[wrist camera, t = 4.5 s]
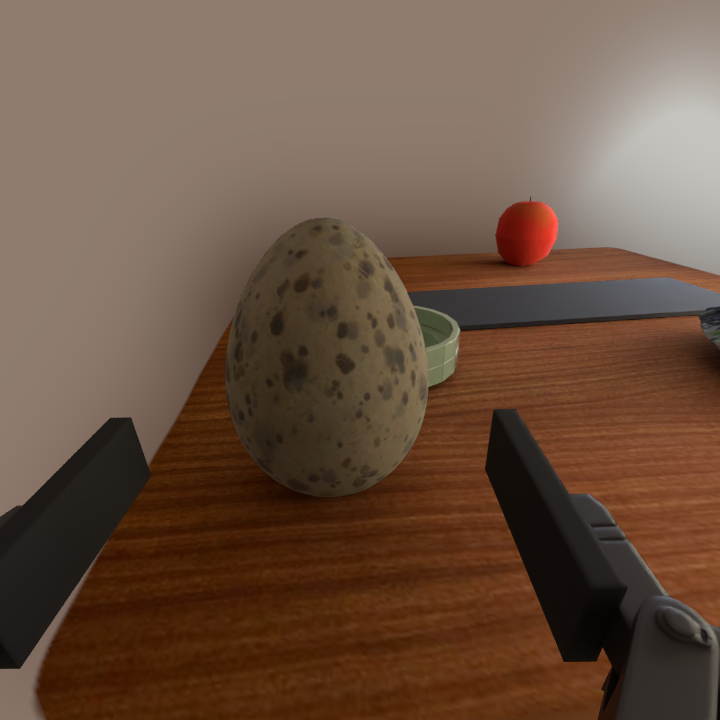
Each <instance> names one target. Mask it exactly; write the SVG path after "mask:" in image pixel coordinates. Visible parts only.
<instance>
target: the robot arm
mask: <svg viewBox="0 0 720 720" xmlns="http://www.w3.org/2000/svg"><path fill="white" fill-rule="evenodd" d="M485 470H486V472H487V475H488V477H489V480H490V482H491V485H492V487H493V489H494V492H495V494H496V497H497V499H498V502H499V504H500V507H501V509H502V511H503V514H504V516H505V519H506V521H507V524H508V526H509V529H510V531H511V533H512V536H513V538H514V541H515V543H516V546H517V548H518V551H519V553H520V556H521V558H522V560H523V563H524V565H525V568H526V570H527V573H528V575H529V578H530V580H531V582H532V585H533V587H534V590H535V592H536V595H537V597H538V600H539V602H540V604H541V607H542V609H543V612H544V614H545V617H546V619H547V622H548V624H549V626H550V629H551V631H552V634H553V636H554V639H555V641H556V644H557V646H558V649H559V651H560V653H561V656H562V658H563V661H564V662H589V661H597V659H598V657H599V654H600V652H601V650H602V647H603V649H604V651H605V653H606V655H607V657H608V659H609V661H610V663H611V665H612V667H611V669H610V672H609V674H608V676H607V678H606V680H605V682H604V685H603V687H602V689H601V690H603V691H604V696H603V700H602V704H601V708H600V712H599V716H598V720H720V628H718V627H715V626H713V625H710V624H708V623H707V622H706V621H705V620H704V619H703V618H702V617H701V616H700V615H699V614H698V613H697V612H696V611H695V610H693V609H692V608H690V607H689V606H687V605H685V604H684V603H682V602H681V601H678V600H675V599H673V598H671V597H670V596H669V595H668V594H667V592H666V591H665V590H664V588H663V587H662V586H661V584H660V583H659V581H658V580H657V579H656V577H655V576H654V574H653V573H652V572H651V570H650V569H649V567H648V566H647V565H646V563H645V562H644V560H643V559H642V558H641V556H640V555H639V553H638V552H637V551H636V549H635V548H634V546H633V545H632V544H631V542H630V541H628V540H627V537H626V535H625V534H624V532H623V531H622V530H621V528H620V527H618V526H617V523H616V521H615V520H614V518H613V517H612V516H611V514H610V513H609V511H608V510H607V509H606V507H604V506H603V505H602V504H601V503H599V502H598V501H597V500H596V499H594V498H593V497H592V496H591V495H589V494H569V493H568V491H567V490H566V488H565V487H564V485H563V484H562V482H561V480H560V479H559V477H558V476H557V474H556V472H555V471H554V469H553V468H552V466H551V465H550V463H549V461H548V460H547V458H546V457H545V455H544V454H543V452H542V450H541V449H540V447H539V446H538V444H537V442H536V441H535V439H534V438H533V436H532V435H531V433H530V431H529V430H528V428H527V427H526V425H525V424H524V422H523V420H522V419H521V417H520V416H519V414H518V412H517V411H516V409H494V411H493V418H492V425H491V432H490V439H489V445H488V452H487V459H486V466H485ZM150 476H151V474H150V471H149V468H148V465H147V462H146V460H145V457H144V454H143V451H142V448H141V445H140V442H139V439H138V436H137V434H136V431H135V428H134V425H133V422H132V419H131V418H110V419H109V420H108V421H107V422H106V423H105V424H104V425H103V426H102V427H101V428H100V429H99V430H98V431H97V432H96V433H95V434H94V435H93V436H92V437H91V438H90V439H89V440H88V441H87V442H86V443H85V444H84V445H83V446H82V447H81V448H80V449H79V450H78V451H77V452H76V453H75V454H74V455H73V456H72V457H71V458H70V459H69V460H68V461H67V462H66V463H65V464H64V465H63V466H62V467H61V468H60V469H59V470H58V471H57V472H56V473H55V474H54V475H53V476H52V477H51V478H50V479H49V480H48V481H47V482H46V483H45V484H44V485H43V486H42V487H41V488H40V489H39V490H38V491H37V492H36V493H35V494H34V495H33V496H32V497H31V498H30V499H29V500H28V501H27V502H26V503H25V504H24V505H23V506H16V507H14V508H13V509H11V510H10V511H8V512H7V513H5V514H4V515H2V516H1V517H0V669H18V668H19V669H20V668H21V666H22V665H23V663H24V662H25V660H26V659H27V657H28V656H29V655H30V653H31V652H32V650H33V649H34V647H35V646H36V644H37V643H38V641H39V640H40V638H41V637H42V635H43V634H44V632H45V631H46V630H47V628H48V627H49V625H50V624H51V622H52V621H53V619H54V618H55V616H56V615H57V613H58V612H59V610H60V609H61V607H62V606H63V605H64V603H65V602H66V600H67V599H68V597H69V596H70V594H71V593H72V591H73V590H74V588H75V587H76V585H77V584H78V582H79V581H80V580H81V578H82V577H83V575H84V574H85V572H86V571H87V569H88V568H89V566H90V565H91V563H92V562H93V560H94V559H95V557H96V556H97V554H98V553H99V552H100V550H101V549H102V547H103V546H104V544H105V543H106V541H107V540H108V538H109V537H110V535H111V534H112V532H113V531H114V529H115V528H116V527H117V525H118V524H119V522H120V521H121V519H122V518H123V516H124V515H125V513H126V512H127V510H128V509H129V507H130V506H131V504H132V503H133V501H134V500H135V499H136V497H137V496H138V494H139V493H140V491H141V490H142V488H143V487H144V485H145V484H146V482H147V481H148V479H149V478H150Z"/></svg>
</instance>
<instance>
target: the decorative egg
mask: <svg viewBox="0 0 720 720" xmlns="http://www.w3.org/2000/svg"><path fill="white" fill-rule="evenodd" d="M225 382H226V394H227V401H228V406H229V411H230V415H231V418H232V421H233V424H234V427H235V430H236V432H237V434H238V437H239V439H240V441H241V442H242V444H243V446H244V448H245V449H246V451H247V452H248V454H249V455H250V457H251V458H252V459H253V461H254V462H255V463H256V464H257V465H258V466H259V467H260V468H261V469H262V470H263V471H264V472H265V473H266V474H267V475H269V476H270V477H271V478H273V479H274V480H276V481H277V482H279V483H280V484H282V485H284V486H286V487H288V488H290V489H292V490H294V491H297V492H300V493H303V494H307V495H311V496H317V497H340V496H346V495H351V494H354V493H357V492H360V491H363V490H365V489H367V488H369V487H371V486H373V485H375V484H376V483H378V482H380V481H381V480H382V479H384V478H385V477H386V476H387V475H389V474H390V473H391V472H392V471H393V470H394V469H395V468H396V467H397V466H398V465H399V464H400V463H401V461H402V460H403V459H404V457H405V456H406V455H407V453H408V452H409V450H410V449H411V447H412V445H413V444H414V442H415V440H416V438H417V435H418V433H419V430H420V428H421V425H422V422H423V418H424V414H425V410H426V404H427V397H428V362H427V354H426V349H425V343H424V339H423V335H422V331H421V328H420V324H419V321H418V318H417V315H416V312H415V309H414V307H413V304H412V302H411V300H410V297H409V295H408V293H407V291H406V289H405V287H404V285H403V283H402V281H401V280H400V278H399V276H398V275H397V273H396V271H395V270H394V268H393V267H392V265H391V264H390V263H389V261H388V260H387V258H386V257H385V256H384V255H383V254H382V252H381V251H380V250H379V249H378V248H377V247H376V246H375V244H374V243H373V242H372V241H371V240H370V239H368V238H367V237H366V236H365V235H363V234H362V233H361V232H360V231H359V230H357V229H356V228H354V227H352V226H351V225H349V224H347V223H345V222H342V221H340V220H336V219H332V218H315V219H310V220H307V221H304V222H302V223H300V224H298V225H296V226H294V227H293V228H291V229H289V230H288V231H287V232H286V233H284V234H283V235H282V236H281V237H280V238H279V239H278V240H277V241H276V242H275V243H274V244H273V245H272V246H271V247H270V249H269V250H268V251H267V252H266V254H265V255H264V256H263V258H262V259H261V261H260V262H259V264H258V265H257V267H256V269H255V270H254V271H253V273H252V275H251V277H250V279H249V281H248V283H247V285H246V287H245V289H244V291H243V293H242V296H241V298H240V301H239V303H238V306H237V309H236V312H235V315H234V319H233V322H232V326H231V330H230V335H229V340H228V346H227V353H226V365H225Z"/></svg>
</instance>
